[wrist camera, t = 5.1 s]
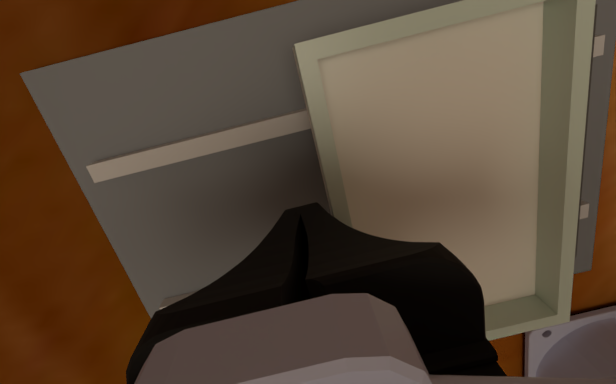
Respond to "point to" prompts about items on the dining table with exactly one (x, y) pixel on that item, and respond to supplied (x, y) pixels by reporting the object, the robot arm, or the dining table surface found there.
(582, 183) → the track
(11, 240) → the dining table surface
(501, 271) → the cream tray
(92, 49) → the dining table surface
